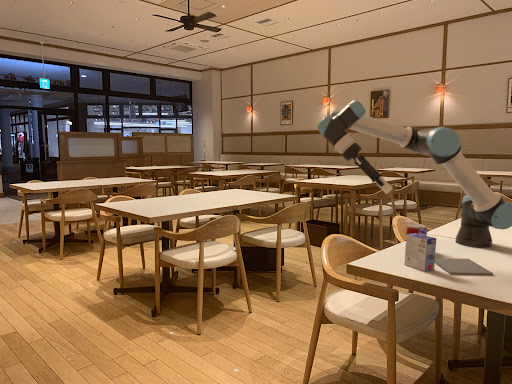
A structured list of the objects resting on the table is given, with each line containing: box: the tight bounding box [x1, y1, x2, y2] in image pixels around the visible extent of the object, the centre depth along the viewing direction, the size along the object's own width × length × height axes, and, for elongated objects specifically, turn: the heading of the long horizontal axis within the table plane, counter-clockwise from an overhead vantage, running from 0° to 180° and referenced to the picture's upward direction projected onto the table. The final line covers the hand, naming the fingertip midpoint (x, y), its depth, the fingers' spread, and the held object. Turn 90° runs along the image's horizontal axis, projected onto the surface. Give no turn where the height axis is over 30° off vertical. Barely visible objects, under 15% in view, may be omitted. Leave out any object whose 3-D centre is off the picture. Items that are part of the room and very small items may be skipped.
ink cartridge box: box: [403, 229, 437, 272], centre depth 148 cm, size 10×6×14 cm, turn 27°
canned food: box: [406, 223, 428, 235], centre depth 174 cm, size 8×8×11 cm
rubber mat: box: [434, 257, 494, 276], centre depth 149 cm, size 15×18×1 cm
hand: (389, 191), depth 153 cm, fingers open, 4 cm apart
